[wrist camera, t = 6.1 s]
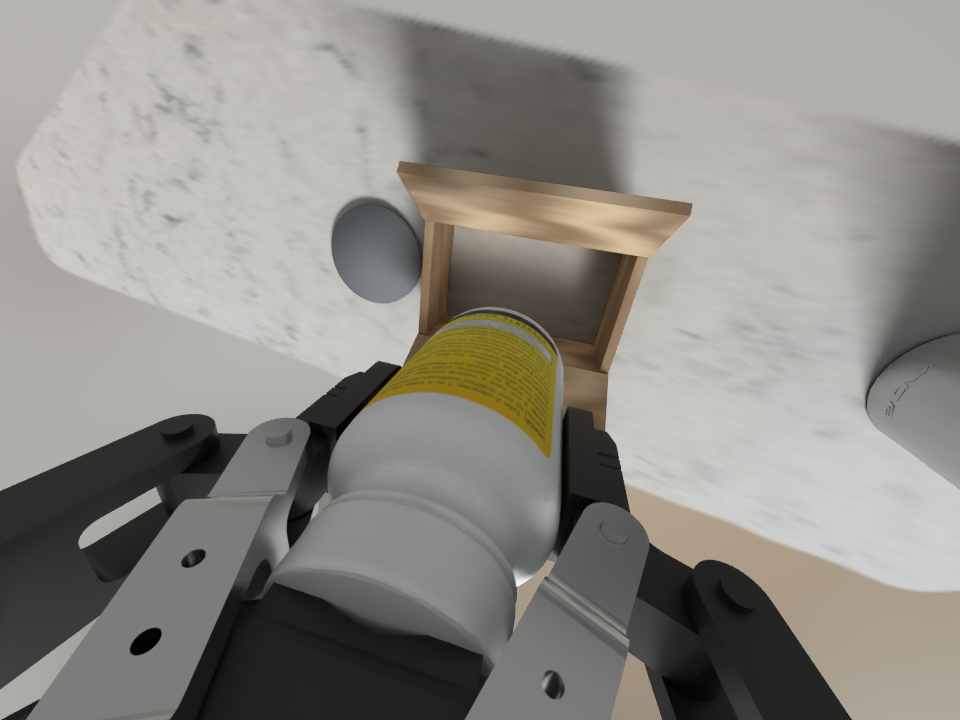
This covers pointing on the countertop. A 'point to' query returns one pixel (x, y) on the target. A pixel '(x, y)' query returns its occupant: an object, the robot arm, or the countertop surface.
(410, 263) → the coaster
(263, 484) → the robot arm
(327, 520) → the supplement bottle
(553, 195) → the carton
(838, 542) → the countertop surface
